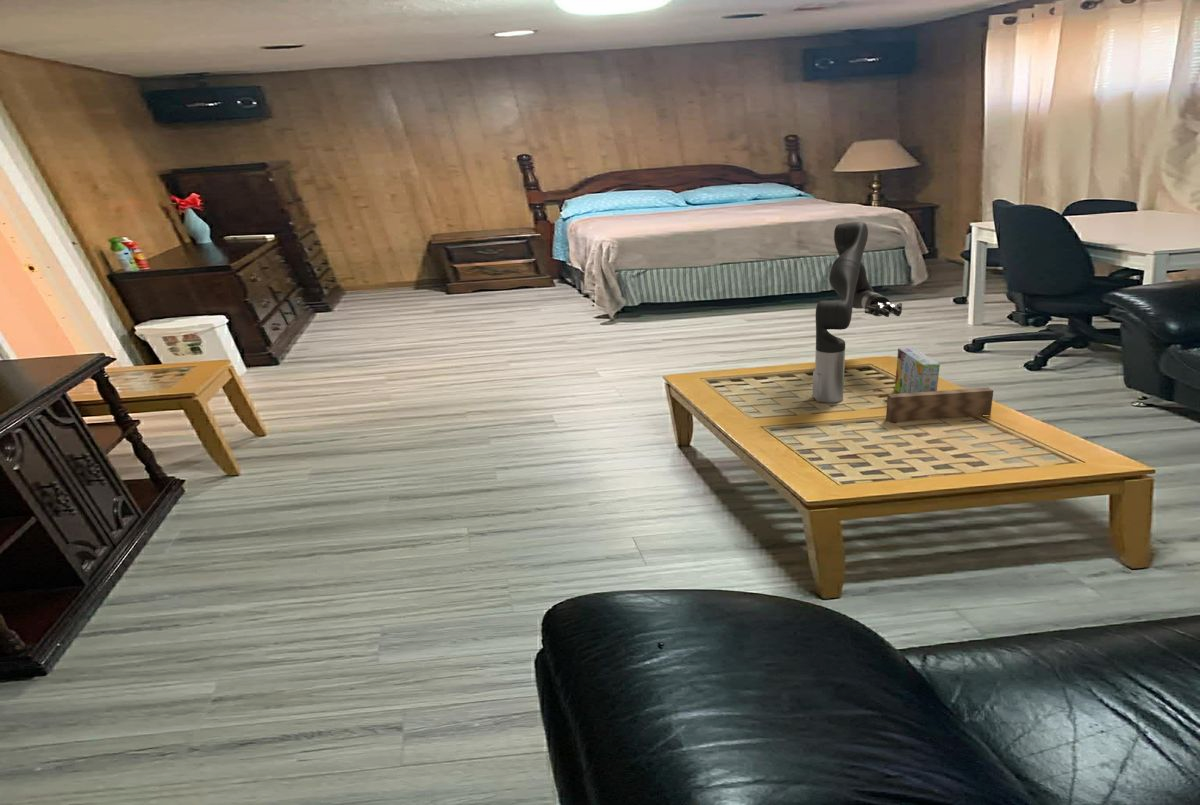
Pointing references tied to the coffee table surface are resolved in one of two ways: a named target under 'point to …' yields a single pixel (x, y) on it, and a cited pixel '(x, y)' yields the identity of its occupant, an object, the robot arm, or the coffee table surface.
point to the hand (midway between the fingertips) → (893, 313)
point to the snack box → (915, 372)
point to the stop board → (939, 404)
